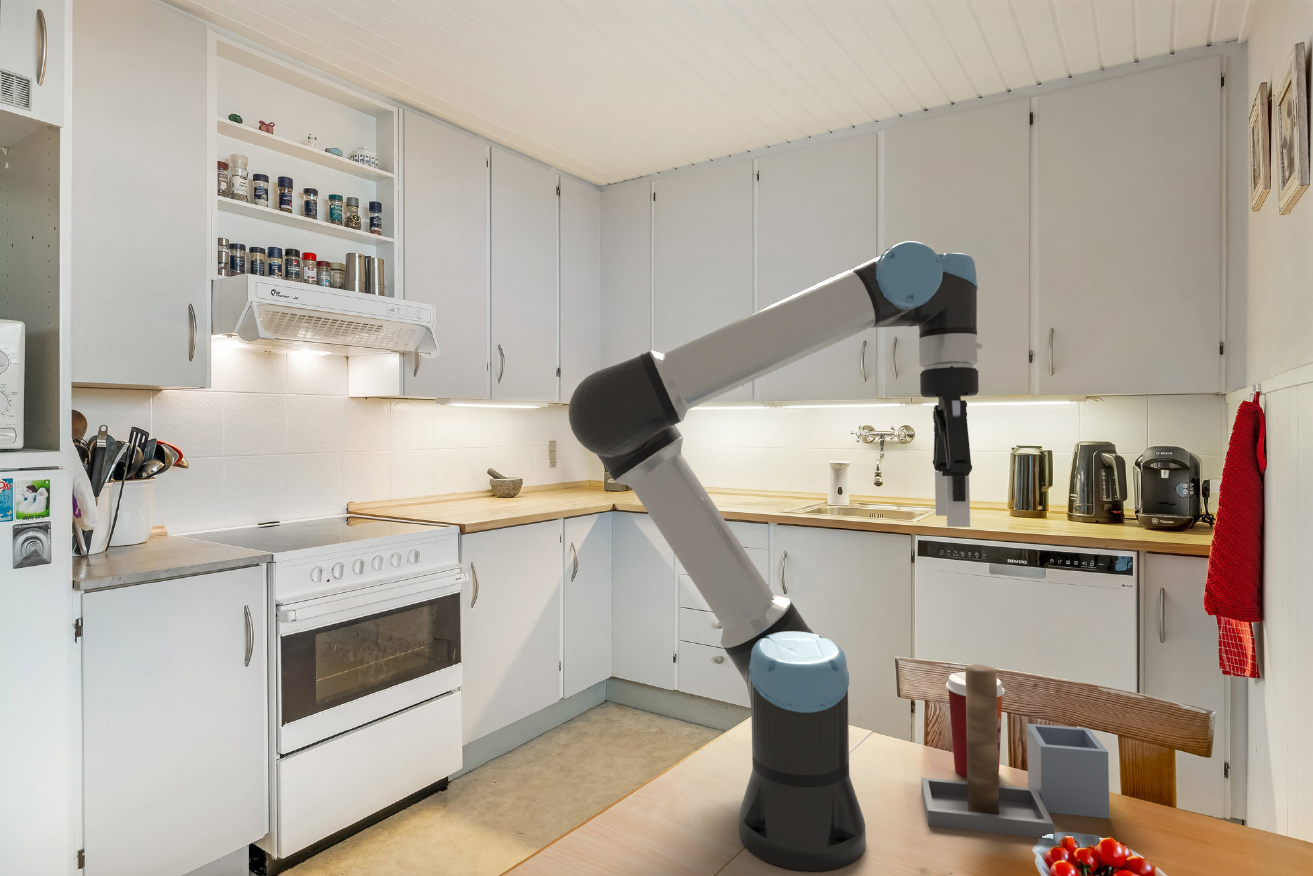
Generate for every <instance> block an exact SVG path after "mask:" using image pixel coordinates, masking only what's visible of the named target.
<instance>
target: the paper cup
mask: <svg viewBox="0 0 1313 876" xmlns="http://www.w3.org/2000/svg"><path fill="white" fill-rule="evenodd" d="M1002 684H1003V683H1002V682H1001V680H1000V679H999V678H998V677H997V722H998V776H999V774H1000V761H1001V760H1000V759H1001V758H1000V757H1001V737H1002V736H1001V734H1002V713H1003V710H1002V709H1003V696H1004V695H1005V693H1006V690H1005V688H1003V685H1002ZM945 687H946V689H947V690H948V691H947V692H948V701H949V703H948V704H949V715H950V716H949V717H950V729H951V739H952V741H951V742H952V752H953V753H952V754H953V762H954V770H955V773H956V774H957V775H959V777H962V778H964V779H967V727H966V672H965V671H960V672H954V673H951V674H949V676H948V681H947V682H946V684H945ZM999 777H1000V776H999Z"/></svg>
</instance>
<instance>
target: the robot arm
mask: <svg viewBox="0 0 1313 876" xmlns="http://www.w3.org/2000/svg"><path fill="white" fill-rule="evenodd" d="M978 290H979V289H978V280H977V270H976V265H975V260H974V259H973V257H972V256H970V255H969V254H967V253H962V252H947V253H941V254H938V253H936V251H935V250H934V249H932V247H930V246H928V245H926V244H925V243H922V242H918V241H914V240H913V241H909V240H908V241H904V242H900V243H898V244H897V243H896V244H895V245H894V246H892V247H889V248H888V249H886V250H885V251H883V253H882V254H881V255H880V256H878V257H875V258H874V259H871V260H869V261H867V262H865V263H862V264H860V265H858V266H856V267H854V268H852V269H850V270H847V271H845V272H843V273H840V274H837V275H836V276H834V277H830V278H829V279H826V280H824V281H822V282H820V283H817V284H816V285H814V286H811V287H809V288H807V289H805V290H802V291H800V292H798V293H796V294H793V295H791V296H789V297H787V298H784V299H783V300H780V301H778V302H776V303H773V304H771V305H769V306H767V307H765V308H762V309H760V310H758V311H756V312H754V313H751V314H749V315H746V316H745V317H743V318H741V319H739V320H736V321H734V322H732V323H730V324H728V325H725V326H723V327H721V328H718V329H716V330H713V331H712V332H709V333H707V334H704V335H703V336H701V337H698V338H696V339H693V340H692V341H689V342H687V343H686V344H685V343H684V344H683V345H681V346H679V347H676V348H674V349H672V350H669V351H667V352H666V353H660V352H657V351H654V350H650V351H647V352H645V353H643V354H641V355H638V356H636V357H633V358H631V359H628V360H625V361H623V362H619V363H617V364H615V365H612V366H609V367H605V368H602V369H600V370H597V371H594V372H593V373H592V374H590V375H588V376H587V377H585V378H584V379H583V380H582V381H581V382H580V383H579V384H578V386H576V388H575V390H574V391H573V393H572V396H571V397H570V401H569V407H568V421H569V425H570V428H571V431H572V433H573V435H574V436H575V438H576V440H577V441H578V442H579V443H580V444H581V445H582V446H583V447H584V448H585V449H587V450H588V451H589V452H591V453H593V454H595V455H597V457H598V458H599V460H600V462H601V463H602V465H603V467H605V469H606V470H607V472H608V474H609V476H611V478H612V480H613V481H614V482H615V483H616V484H620V485H625V486H628V487H630V488H631V489H632V491H633V492H634V494H635V495H636V497H637V499H638V500H639V502H640V503H641V504H642V506H643V508H644V509H645V510H646V512H647V514H648V515H649V517H650V518H651V520H652V521H653V523H654V524H655V525H656V527H657V529H658V530H659V532H660V534H661V536H662V537H663V538H664V540H665V541H666V543H667V544H668V546H669V548H671V550H672V551H673V554H674V555H675V557H676V558H677V559H678V561H679V563H680V564H681V566H682V568H684V570H685V572H686V573H687V574H688V576H689V578H690V579H691V581H692V583H693V584H694V585H695V587H696V588H697V590H698V591H699V593H700V594H701V596H702V598H703V599H704V601H705V602H706V604H707V606H708V608H710V610H711V611H712V613H713V614H714V616H715V617H716V619H717V620H718V622H719V624H720V625H721V627H722V634H721V639H720V645H721V646H722V648H723V649H724V652H725V653H726V654H727V655H728V657H729V659H730V660H731V662H732V663H733V664H734V666H735V668H736V670H737V671H738V672H739V674H740V676H741V677H742V679H743V680H744V682H745V684H746V687H747V691H748V697H749V701H750V702H749V703H750V709H751V710H750V711H751V713H750V714H751V749H752V750H751V751H752V756H751V757H752V759H751V760H752V769H751V772H750V777H749V780H748V783H747V786H746V790H745V792H744V795H743V799H742V802H741V806H740V808H739V815H738V816H739V817H738V821H739V822H738V823H739V824H738V825H739V828H738V831H739V838H740V840H741V841H742V844H743V846H745V848H746V849H747V850H749V852H750V853H752V854H753V855H754V856H755V857H758V858H759V859H761V860H763V861H765V862H767V863H770V864H771V865H772V864H773V865H775V866H778V867H782V868H786V869H790V870H796V871H810V872H813V871H814V872H815V871H816V872H817V871H829V870H834V869H838V868H841V867H845V866H847V865H849V864H851V863H853V862H855V861H856V860H857V859H859V857H860V856H862V854H863V853H864V851H865V850H866V849H865V848H866V846H867V845H866V844H867V843H866V842H867V839H866V838H867V836H866V835H867V834H866V822H865V817H864V814H863V812H862V808H861V806H860V803H859V801H858V798H857V795H856V794H857V793H856V792H855V789H854V786H853V783H852V779H851V777H850V747H849V746H850V743H849V742H850V736H849V735H850V734H849V733H850V731H849V686H850V673H849V669H848V665H847V657H846V655H845V652H844V651H843V649H842V648H841V647H840V645H839V644H837V643H836V642H835V641H833V640H831V639H830V638H827V637H825V638H824V637H822V636H821V635H820V634H816V633H814V631H813V630H812V629H811V628H809V626H808V625H807V623H806V622H805V620H804V619H803V617H802V616H801V614H800V612H799V611H798V610H797V608H796V607H795V605H794V603H793V602H792V601H791V599H790V598H789V597H787V596H784V595H783V596H782V595H778V594H775V593H774V592H773V591H772V589H771V588H770V587H769V585H768V584H767V582H766V580H765V579H764V578H763V575H761V573H760V572H759V570H758V569H757V567H756V565H755V564H754V562H753V561H752V559H751V558H750V556H749V555H748V553H747V552H746V550H745V548H744V547H743V546H742V544H741V542H740V540H738V538H737V536H736V535H735V534H734V532H733V530H732V529H731V527H730V525H729V524H728V523H727V521H726V520H725V518H724V517H723V515H722V514H721V512H720V510H719V509H718V508H717V506H716V505H715V502H714V501H713V500H712V499H711V497H710V495H709V494H708V492H707V491H706V490H705V487H704V486H703V485H702V484H701V482H700V480H699V478H698V477H697V476H696V474H695V472H694V471H693V470H692V468H691V466H690V465H689V464H688V462H687V461H686V459H685V457H684V456H683V454H682V446H683V442H684V437H683V435H682V434H681V432H680V431H679V429H678V428H677V426H676V425H677V424H679V423H681V422H683V421H684V420H685V417H686V415H687V412H688V411H689V410H690V409H692V408H696V407H697V406H699V405H702V404H704V403H706V402H709V401H710V400H713V399H715V398H717V397H720V396H721V395H724V394H726V393H728V392H730V391H733V390H736V389H738V388H739V387H742V386H744V385H746V384H748V383H750V382H753V381H755V380H757V379H760V378H762V377H764V376H766V375H768V374H770V373H772V372H775V371H777V370H779V369H782V368H784V367H785V366H788V365H791V364H793V363H794V362H797V361H799V360H801V359H803V358H806V357H808V356H811V355H812V354H815V353H817V352H819V351H822V350H824V349H825V348H826V349H827V348H828V347H830V346H832V345H835V344H837V343H840V342H842V341H844V340H847V339H848V338H851V337H852V336H855V335H858V334H859V333H861V332H863V331H864V332H865V331H866V330H868V329H870V328H873V329H874V328H897V327H908V328H909V327H910V328H911V327H918V331H919V335H918V353H919V354H918V356H919V357H918V358H919V362H918V363H919V366H920V367H921V368H923V370H921V372H920V373H919V379H920V380H919V384H920V387H919V388H920V395H921V397H923V398H938V403H937V404H934V407H933V411H932V418H933V423H934V424H933V433H934V435H933V436H934V437H933V459H932V464H933V469H934V488H935V489H934V493H935V494H934V495H935V497H934V498H935V500H934V502H935V504H934V505H935V506H934V507H935V516H936V517H938V516H939V517H941V516H943V517H944V516H945V517H946V527H948V528H950V527H951V528H957V527H958V528H970V527H971V512H970V511H971V507H970V505H971V504H970V501H971V500H970V474H971V472H972V470H973V464H972V461H971V459H972V458H971V449H970V437H969V430H968V429H969V427H968V418H967V417H968V412H967V407H968V403H967V401H966V400H964V399H963V400H962V399H961V397H972V396H973V397H974V396H977V394H979V370H977V369H978V368H976V367H974V365H976V364H977V363H978V358H979V357H978V350H982V349H983V343H982V342H977V340H978V326H977V325H978V324H977V323H978V320H977V318H978V313H977V312H978V307H977V306H978Z"/></svg>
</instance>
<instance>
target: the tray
mask: <svg viewBox="0 0 1313 876" xmlns="http://www.w3.org/2000/svg"><path fill="white" fill-rule="evenodd" d="M920 780H921V781H920V782H921V783H920V784H921V785H920V787H921V789H920V790H921V795H922V800H923V801H922V802H923V807H924V811H925V817H926V822H927V826H930V827H937V828H938V827H939V828H947V829H948V828H949V829H954V830H955V829H957V830H965V831H974V832H975V831H976V832H982V833H983V832H984V833H991V834H992V833H993V834H1000V835H1008V836H1009V835H1011V836H1016V837H1017V836H1018V837H1019V836H1020V837H1025V838H1026V837H1027V838H1036V839H1043V838H1042V836H1045V835H1047V834H1054V835H1055V824H1054V822H1053V820H1052V818H1051V815H1050V812H1047V810H1046V808H1045V806H1044V804H1043V802H1042V800H1041V798H1040V796H1039V794H1038V792H1037V790H1036V788H1030V787H1024V786H1016V785H1015V786H1014V785H1004V784H999V815H996V814H986V813H977V812H969V811H968V782H967V781H963V780H953V779H945V778H944V779H942V778H931V777H920Z"/></svg>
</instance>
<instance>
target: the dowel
mask: <svg viewBox="0 0 1313 876" xmlns="http://www.w3.org/2000/svg"><path fill="white" fill-rule="evenodd" d="M964 670H965V671H964V672H966V727H967V781H966V782H968V811H969V812H977V813H986V814H996V815H999V785H1000V784H999V783H1000V782H999V777H1000V776H998V722H997V678H998V674H997V673H998V672H997V669H996V668H995V667H992V666H990V665H989V666H988V665H984V664H969V665H966V666H965V669H964Z"/></svg>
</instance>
